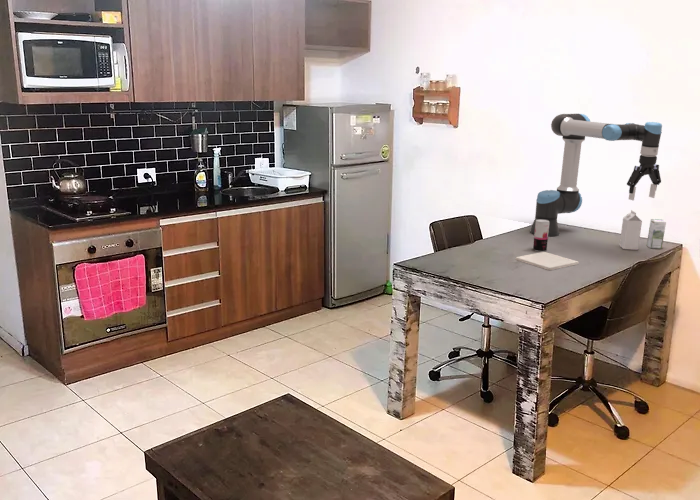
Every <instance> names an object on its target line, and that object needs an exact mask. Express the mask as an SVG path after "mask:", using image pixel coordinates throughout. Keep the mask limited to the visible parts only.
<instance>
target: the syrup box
mask: <svg viewBox="0 0 700 500" xmlns="http://www.w3.org/2000/svg"><path fill="white" fill-rule="evenodd" d="M666 225H667V222H666V220H664V219H662V218H661V219H660V218H657V219H656V218H650V221H649V228H648V234H647V242H646V247H648V248H650V249H657V250H658V249H660V250H662V249H663V243H664V236H665V230H666Z"/></svg>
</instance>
